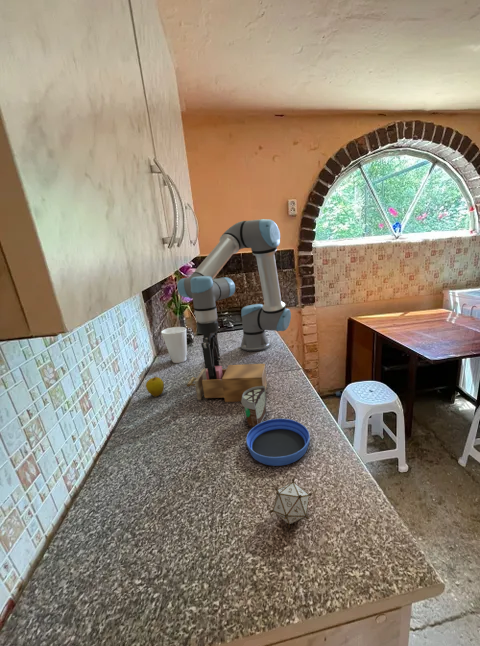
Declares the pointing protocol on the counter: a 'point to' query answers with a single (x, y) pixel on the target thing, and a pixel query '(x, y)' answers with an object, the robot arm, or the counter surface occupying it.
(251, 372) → the cabinet
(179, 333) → the cup
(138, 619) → the counter surface
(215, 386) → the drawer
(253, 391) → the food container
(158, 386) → the apple
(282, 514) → the game die
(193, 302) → the robot arm
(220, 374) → the block
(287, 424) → the bowl
